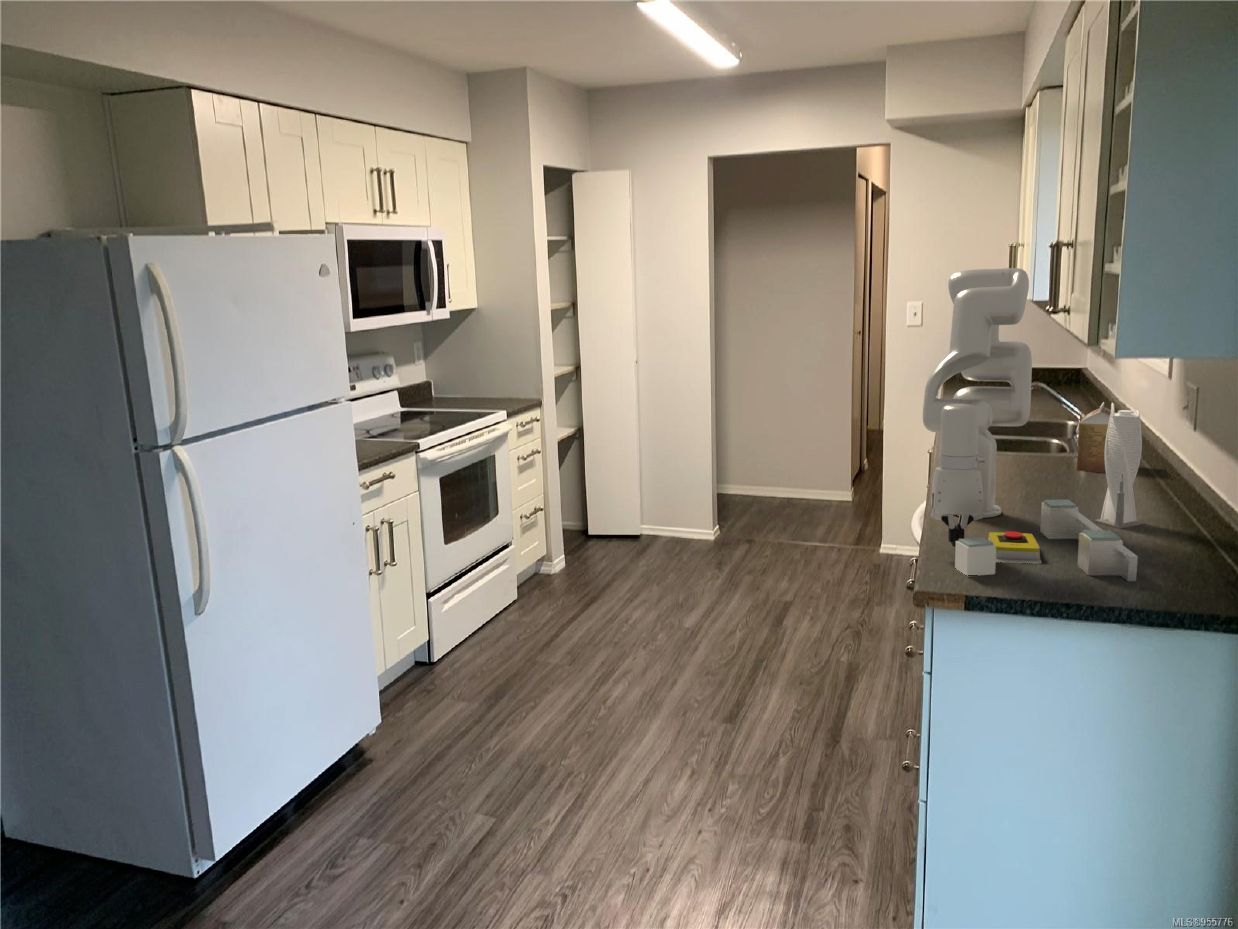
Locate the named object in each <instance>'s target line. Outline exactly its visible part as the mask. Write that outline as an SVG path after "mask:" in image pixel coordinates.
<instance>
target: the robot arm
mask: <svg viewBox="0 0 1238 929" xmlns="http://www.w3.org/2000/svg"><path fill="white" fill-rule="evenodd" d="M1029 279H1030V278H1029V275H1028V274H1027V271H1026V270H1024V269H1022V268H1018V267H1017V268H1016V267H1014V268H1013V267H1006V268H985V269H983V268H982V269H979V268H978V269H966V270H962V271H960V270H959V271H957V272H954V273H953V274H952V275H950V277H949V279H948V284H947V285H948V294H949V296H950V300H951V301H952V304H953V307H952V308H953V310H952V318H951V319H952V320H951V331H950V342H949V351H948V355H947V356H946V357H945V358H944V359H943V360H942V361H941V362H939V363H938V365H937V366H936V367H935V368H934V369H933V371H932V372H931V374H930V376H928V379H927V382H926V384H925V389H924V396H923V397H924V398H923V406H922V408H923V409H922V423H923V426H924V428H925V429H926V430H927V431H929V432H932V433H940V436H939V437H940V438H939V439H940V440H939V442H940V444H939V466H936V467H935V469H934V473H933V478H932V488H931V496H930V497H931V499H930V506H931V513H930V518H931V519H932V520H936V521H940V522H943V524H945V525H946V526H947V527H948V537H947V538H948V543H950V544H951V546H952V547H953V548H955V547H956V541H959V539H965V530H966V529H967V528H968V526H969V525H970V524H971V523H972V522H973V521H978V520H982V519H987V518H995V517H998V516H999V515H1001V514H1002V508H1001V507H1000V506H999V505H997V504H995V502H996V501H995V500H996V481H997V479H996V476H997V474H996V473H997V450H998V448H997V447H998V446H997V442H996V439H995V437H994V436H993V434H992V433H991V432H990V431H989V430H988V429H989V428H990V427H1021V426H1025V425H1026V424H1027V423H1028V421H1029V419H1030V414H1031V402H1032V374H1033V372H1032V370H1033V364H1032V363H1033V358H1032V351H1031V349H1030V347H1029V345H1028V344H1026V343H1025V342H1023V341H1014V340H1013V341H1010V340H1009V341H1000V339H999V335H1000V334H999V333H1000V332H999V331H1000V326H1010V325H1012V326H1013V325H1017V324H1019V323H1020V322H1021V320H1022V319H1023V316H1024V314H1025V310H1026V305H1027V300H1028V297H1029V296H1028V295H1029V288H1030V280H1029ZM957 374H961V376H962V377H963V378H964V379H965V380H969V381H975V382H1007V383H1009V385H1010V386H968V387H967V386H966V387H963V388H960V389H959V390H957V391H956V393H954V395H953V398H939V393H940V389H941V387H942V386H943V384H944V383H945V382H946V381H947V380H949V379H951V378H952V377H953V376H956V375H957ZM956 515H957V517H958V522H957V524H956V522H955V516H956Z"/></svg>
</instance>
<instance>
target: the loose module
mask: <svg viewBox="0 0 1238 929" xmlns="http://www.w3.org/2000/svg"><path fill="white" fill-rule="evenodd" d="M954 548H955V550H954V552H955V553H954V554H955V555H954V559H955V560H954V569H955V568H956V569H957V570H959V571H960V572H959V571H958V572H959V573H961V572H962V573H963V574H962V573H961V574H962V575H964V574H965V575H967V576H966V577H969V576H968V575H978V576H986V575H988V576H989V575H995V574H996V563H997V562H996V545H994V544H993V542H991V541H989V540H988V539H987V538H985V537H983V536H980V537H966V538H965V537H964V539H959V541H956V547H954ZM956 569H955V570H956ZM957 570H956V571H957ZM965 575H964V576H965Z"/></svg>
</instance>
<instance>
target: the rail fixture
mask: <svg viewBox="0 0 1238 929" xmlns="http://www.w3.org/2000/svg"><path fill="white" fill-rule="evenodd" d="M1040 511H1041V513H1040V528H1039V531H1040V533H1041V534H1043V536H1045V537H1046V538H1047V539H1048V540H1078V550H1077V551H1078V552H1077V567H1078V568H1079V569H1080V570H1082V571H1083V572H1084V573H1085V574H1086V575H1087V576H1121V577H1122V578H1123V579H1125V580H1126V582H1137V573H1138V572H1137V571H1138V559H1139V558H1138V557H1139V556H1138V555H1137V554H1135V553H1134V552H1133V551H1131V550H1130V549H1129V548H1127V547H1126V546H1124V545H1123V544H1124V540H1122V539H1121V537H1120V536H1119V535H1118V534H1116V533H1114V532H1113V531H1112V530H1111V529H1107V530H1106V529H1102V528H1101V527H1099V526H1098V525H1097V524H1095V523H1094V522H1092V521H1091V520H1090V519H1088V517H1087V516H1085V515H1083V514H1082V513H1081V512H1079V507H1077V505H1076V503H1074V502H1072V501H1071V500H1070V499H1044V500H1043V501H1042V502H1041V510H1040Z"/></svg>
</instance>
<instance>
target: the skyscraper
mask: <svg viewBox="0 0 1238 929" xmlns="http://www.w3.org/2000/svg"><path fill="white" fill-rule="evenodd" d="M1115 408H1116V407H1115V403H1113V402H1111V404H1110V410H1111V414H1110V419H1109V424H1108V429H1107V434H1106V440H1105V470H1106V472H1105V476H1106V482H1107V489H1106V494H1105V497H1104V502H1103V505H1102V510H1101V514H1100V518H1097V519H1094V522H1095V523H1098V524H1102V525H1106V526H1109V527H1112V528H1116V529H1118V530H1119V529H1120V530H1121V529H1126V528H1130V527H1136V526H1137V525H1138V526H1141V525H1140V524H1142V525H1143V522H1141V521H1138V520H1137V513H1136V504H1135V497H1134V496H1135V495H1134V488H1133V485H1134V483H1135V480H1136V477H1137V474H1138V470H1139V468H1140V463H1141V458H1142V450H1143V449H1142V448H1143V436H1142V434H1143V432H1142V421H1141V414H1140V411H1139V410H1138V409H1137V410H1136V411H1135V412H1133V410H1130V409H1121V410H1117V412H1115ZM1094 522H1093V523H1094Z"/></svg>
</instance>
